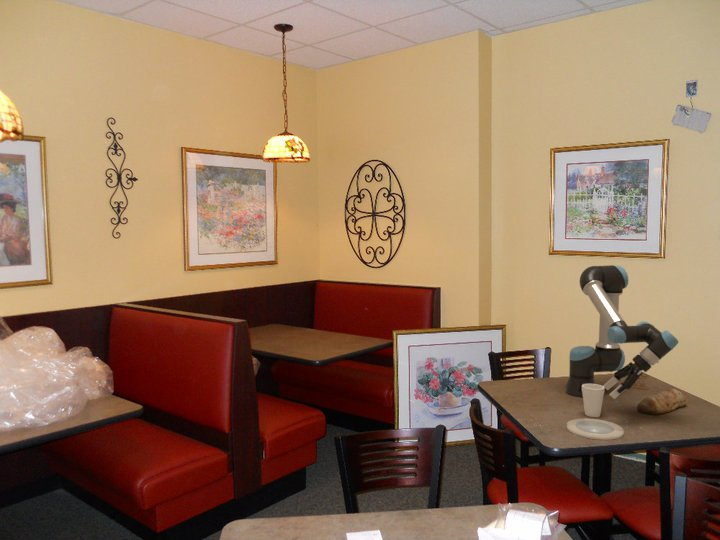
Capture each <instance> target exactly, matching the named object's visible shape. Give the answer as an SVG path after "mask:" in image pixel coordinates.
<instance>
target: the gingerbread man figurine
mask: <svg viewBox="0 0 720 540" xmlns="http://www.w3.org/2000/svg"><path fill="white" fill-rule="evenodd" d="M641 372H642V373H643V374H644V375H645V376H644V375H643V374H642V375H641V376H640V377H639V378H638V379H637V381H636V382H635V383H634V384H633V386H632V387H631V388H632V389H637V390H643V391H648V389H649V388H650V387H649V386H646V384H645V381H644V380H648V375H647V373H646V372H644V371H643V370H641ZM640 380H641V381H640ZM641 382H642V383H641ZM638 383H639V384H638ZM631 388H630V389H631Z"/></svg>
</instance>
